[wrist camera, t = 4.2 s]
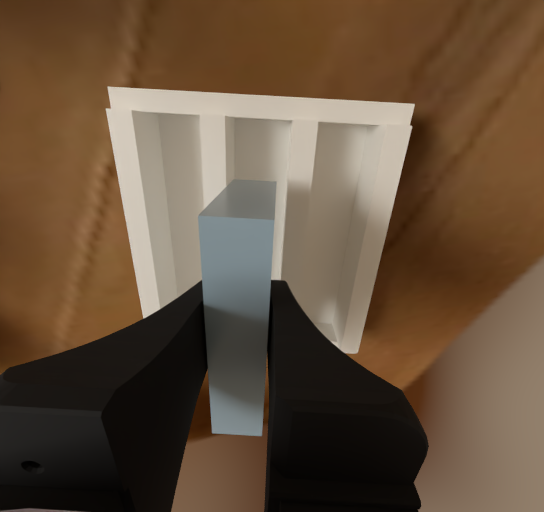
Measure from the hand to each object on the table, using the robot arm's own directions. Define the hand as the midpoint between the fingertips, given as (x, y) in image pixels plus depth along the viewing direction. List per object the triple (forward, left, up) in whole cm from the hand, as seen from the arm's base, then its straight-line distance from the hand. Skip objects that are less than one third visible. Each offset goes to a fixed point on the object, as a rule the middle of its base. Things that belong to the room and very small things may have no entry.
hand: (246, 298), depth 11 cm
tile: (0, 0, -3) cm, 3 cm away
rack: (0, 0, -9) cm, 9 cm away
